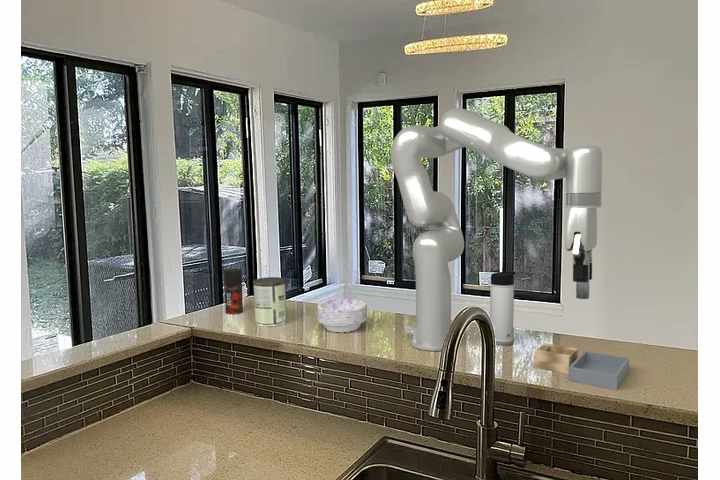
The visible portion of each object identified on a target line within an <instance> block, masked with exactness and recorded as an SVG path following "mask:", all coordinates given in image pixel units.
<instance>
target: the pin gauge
mask: <svg viewBox="0 0 720 480" xmlns="http://www.w3.org/2000/svg"><path fill="white" fill-rule="evenodd" d="M580 251H584V249H583V248H580ZM590 251H591V250H589V251H587V265H588V282H586V283H585V282H576V283H575V285H576V286H575V295H576V296H575V298H576V299H579V300H588V299H590V280H589V270H590V263H591V262H590ZM582 255H584V254H582Z"/></svg>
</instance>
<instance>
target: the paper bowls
mask: <svg viewBox="0 0 720 480" xmlns="http://www.w3.org/2000/svg"><path fill="white" fill-rule="evenodd" d="M316 306H317V322H318V323H319V324H323V325H324V327H325V329H326V330H327V331H329V332H332V333H336V332H339V334H341V333H343V334H344V332H346V333H352V332H354V331H357V330H358V329H359V328H360V327H361V325H362V323H364V322H366V321H367V319H368V305H367V302H365V301H363V300H361V299H356V298H355V299H354V298H336V299H335V298H334V299H328V300H324V301H321V302H320V303H318V305H316ZM351 331H352V332H351Z"/></svg>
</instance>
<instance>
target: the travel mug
mask: <svg viewBox="0 0 720 480" xmlns="http://www.w3.org/2000/svg"><path fill="white" fill-rule="evenodd" d="M515 275H516V272H515V271H513V270H512V271H497V272H494V273H491V275H490V282H489V283H490V286H489V287H490V291H489V292H490V293H489V295H490V297H489V302H490V303H489V304H490V306H489V320H490V319H491V321H492V323H493V325H494V327H495V329H494V330H495V338H496V345H495V346H500V345H501V346H503V347H504V346H506V347H507V346H511V345H513V343H514V310H515V309H514V306H515V305H514V302H515V300H514V299H515V298H514V297H515V287H514V286H515V277H514V276H515Z"/></svg>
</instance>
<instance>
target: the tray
mask: <svg viewBox="0 0 720 480" xmlns="http://www.w3.org/2000/svg"><path fill="white" fill-rule="evenodd" d="M629 372H630V357H625V356H624V357H623V356H620V355H619V356H618V355H614V354H613V355H612V354H607V353H602V352H594V351H589V350H584V351H583V352H582V353H581V354H580V355H578V358H577V359H576V360H575V361H574V362H573V363H572V364H571V365H570V366H569V374H568V381H570V382H575V383H580V384H585V385H589V386H595V387H598V388H604V389H610V390H615V391H617V390H618V388H619V387H620V386H621V384H622V383H623V380H625V378H626V377H627V374H629Z"/></svg>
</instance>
